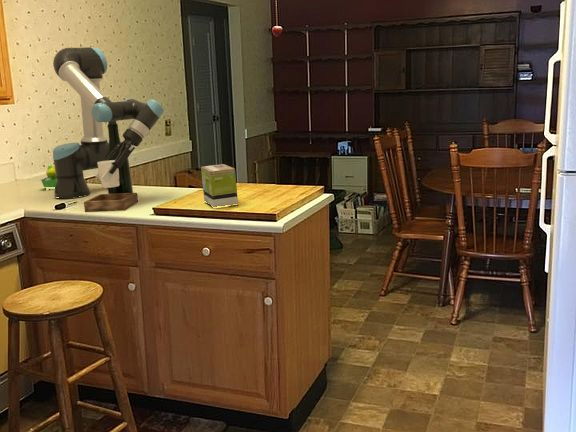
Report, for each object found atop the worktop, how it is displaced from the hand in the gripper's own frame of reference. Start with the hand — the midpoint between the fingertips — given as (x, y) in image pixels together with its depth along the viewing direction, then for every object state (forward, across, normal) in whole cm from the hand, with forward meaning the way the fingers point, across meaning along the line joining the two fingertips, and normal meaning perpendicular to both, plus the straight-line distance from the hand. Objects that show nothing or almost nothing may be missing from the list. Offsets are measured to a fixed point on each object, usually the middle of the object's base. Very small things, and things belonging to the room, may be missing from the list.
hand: (101, 178), depth 248 cm
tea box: (-16, -31, -34) cm, 49 cm away
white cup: (0, 0, -5) cm, 5 cm away
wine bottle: (-2, +21, -18) cm, 28 cm away
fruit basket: (+9, +72, -7) cm, 73 cm away
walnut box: (+6, +1, -11) cm, 12 cm away
